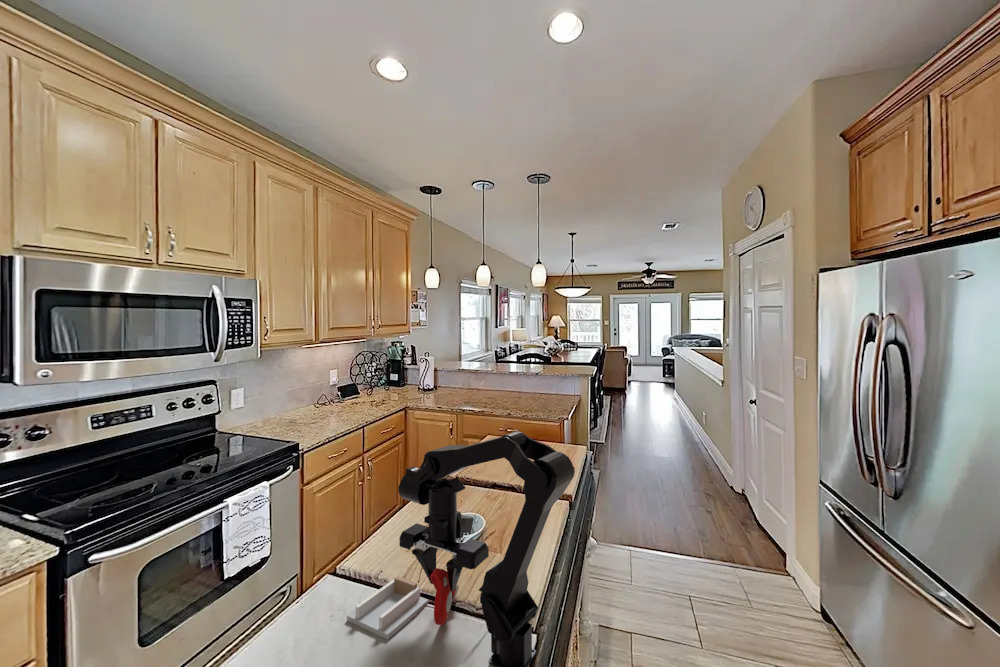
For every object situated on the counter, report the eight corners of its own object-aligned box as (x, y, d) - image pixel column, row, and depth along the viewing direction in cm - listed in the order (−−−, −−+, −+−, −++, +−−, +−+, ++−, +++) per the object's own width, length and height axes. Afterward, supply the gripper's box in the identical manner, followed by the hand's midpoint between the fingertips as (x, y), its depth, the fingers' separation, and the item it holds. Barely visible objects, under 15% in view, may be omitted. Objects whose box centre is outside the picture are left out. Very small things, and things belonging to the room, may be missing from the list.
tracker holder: (443, 638, 81) (443, 585, 81) (421, 635, 82) (421, 583, 82) (462, 599, 93) (462, 553, 93) (442, 596, 93) (442, 550, 93)
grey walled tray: (428, 604, 91) (428, 585, 91) (387, 639, 80) (387, 618, 80) (389, 589, 96) (389, 571, 96) (346, 620, 86) (346, 600, 86)
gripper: (502, 504, 89) (502, 579, 89) (431, 488, 99) (431, 556, 99) (472, 525, 80) (473, 609, 80) (397, 506, 89) (397, 581, 89)
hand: (443, 586), depth 87 cm, fingers closed on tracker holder, 5 cm apart
